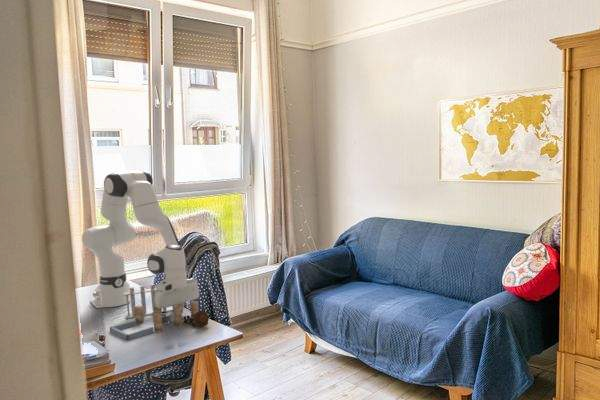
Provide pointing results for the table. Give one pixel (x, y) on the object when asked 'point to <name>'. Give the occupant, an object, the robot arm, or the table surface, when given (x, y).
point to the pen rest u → (118, 332)
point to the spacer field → (158, 317)
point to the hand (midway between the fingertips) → (178, 313)
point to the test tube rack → (142, 291)
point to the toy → (197, 319)
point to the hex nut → (165, 317)
